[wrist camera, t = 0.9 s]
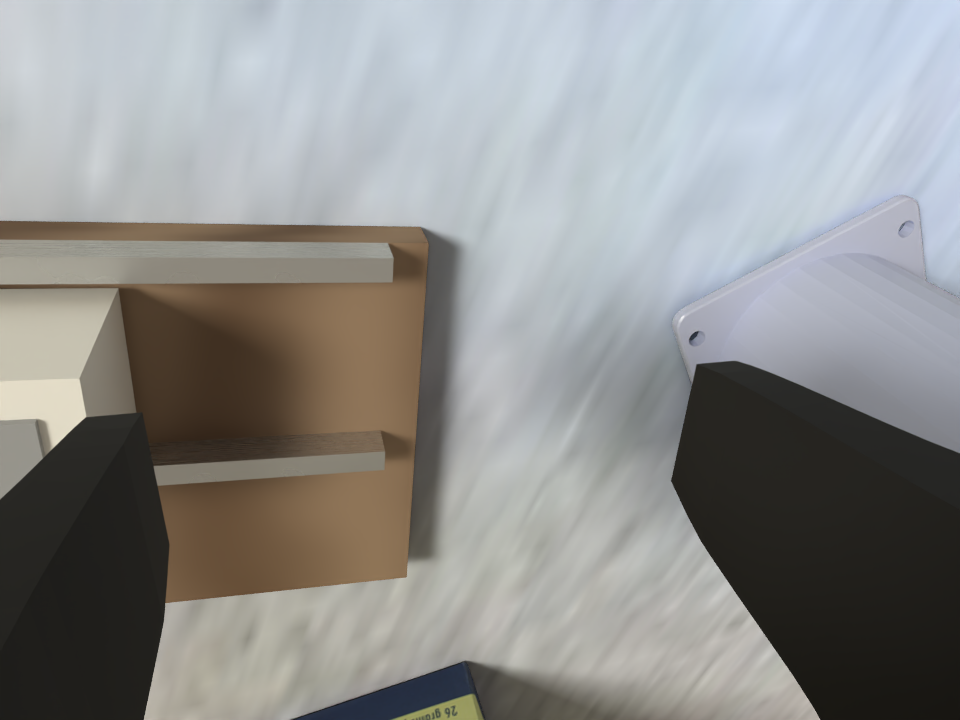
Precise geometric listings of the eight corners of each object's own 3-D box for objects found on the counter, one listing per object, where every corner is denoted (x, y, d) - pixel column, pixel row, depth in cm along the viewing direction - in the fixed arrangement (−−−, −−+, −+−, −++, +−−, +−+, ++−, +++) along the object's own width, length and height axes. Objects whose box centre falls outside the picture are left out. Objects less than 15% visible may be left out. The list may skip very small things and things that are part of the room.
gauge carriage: (118, 287, 17) (77, 382, 13) (157, 554, 20) (133, 683, 17) (-92, 289, 15) (-196, 392, 12) (-10, 569, 19) (-72, 710, 16)
